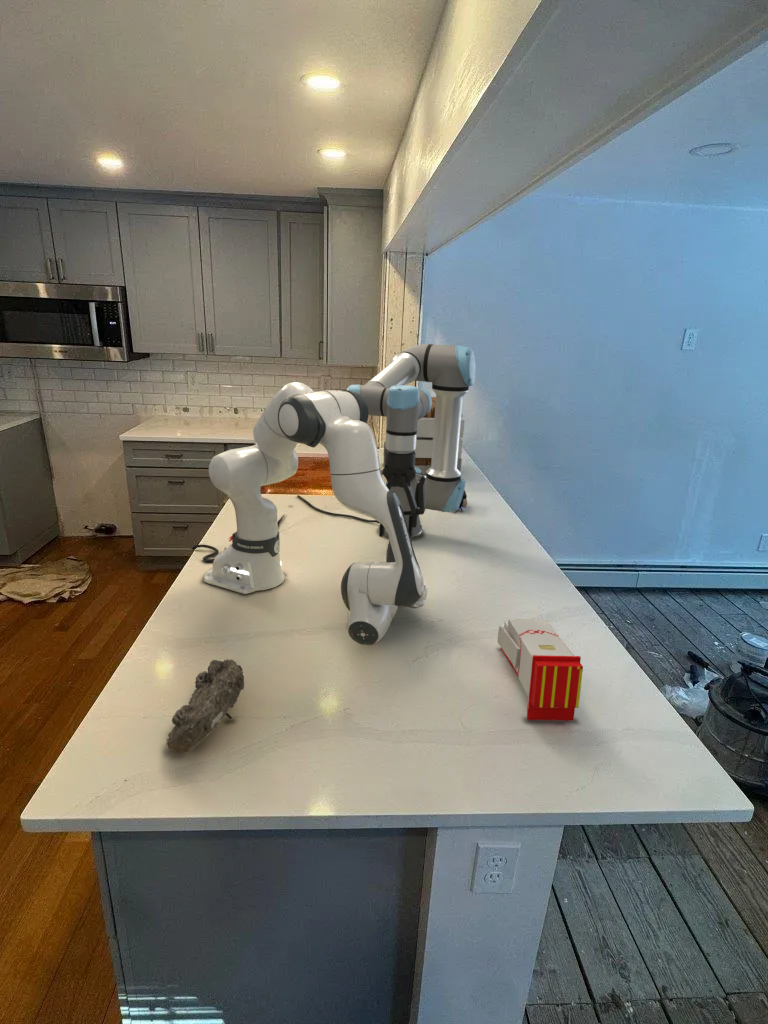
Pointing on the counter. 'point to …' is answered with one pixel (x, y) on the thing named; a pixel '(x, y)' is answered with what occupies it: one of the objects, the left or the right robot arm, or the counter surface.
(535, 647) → the toy
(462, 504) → the figurine character
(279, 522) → the feather
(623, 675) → the counter surface
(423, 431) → the light boxy container
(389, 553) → the bottle
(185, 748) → the fossil
